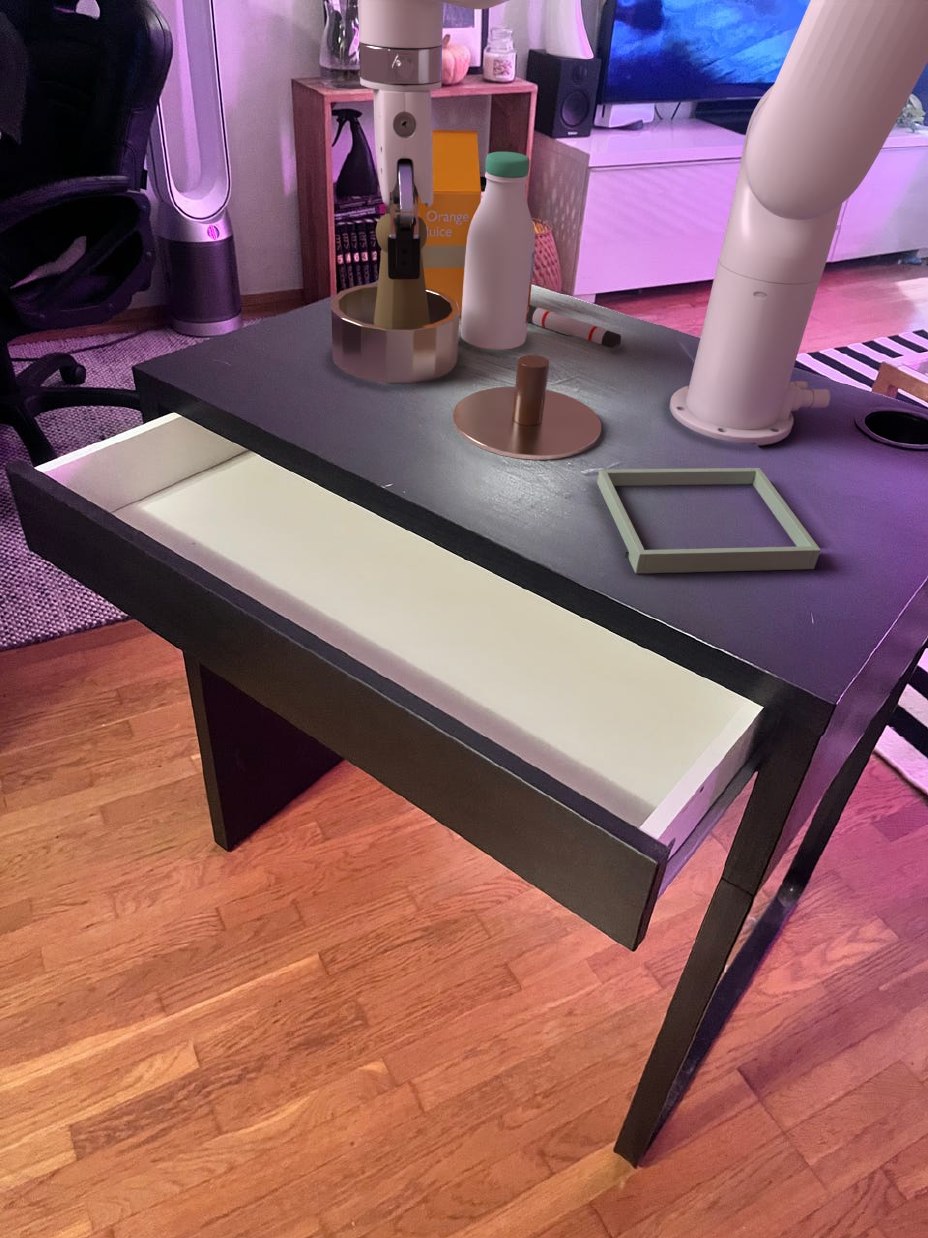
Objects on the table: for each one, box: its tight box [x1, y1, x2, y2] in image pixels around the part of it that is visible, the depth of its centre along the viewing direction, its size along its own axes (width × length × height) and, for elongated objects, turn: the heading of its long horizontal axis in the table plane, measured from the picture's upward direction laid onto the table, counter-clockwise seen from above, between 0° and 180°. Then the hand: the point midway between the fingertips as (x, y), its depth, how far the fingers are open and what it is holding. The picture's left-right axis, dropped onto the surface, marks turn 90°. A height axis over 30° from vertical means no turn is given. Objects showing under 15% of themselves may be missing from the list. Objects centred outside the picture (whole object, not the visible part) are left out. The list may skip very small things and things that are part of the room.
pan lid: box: [452, 354, 602, 461], centre depth 89 cm, size 15×15×7 cm
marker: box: [528, 304, 622, 349], centre depth 111 cm, size 15×2×2 cm, turn 52°
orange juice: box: [418, 129, 482, 318], centre depth 109 cm, size 8×9×20 cm
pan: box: [330, 282, 461, 384], centre depth 100 cm, size 14×14×6 cm
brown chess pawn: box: [374, 212, 430, 327], centre depth 95 cm, size 6×6×11 cm
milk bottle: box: [460, 151, 536, 351], centre depth 102 cm, size 8×8×20 cm
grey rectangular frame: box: [596, 467, 822, 574], centre depth 78 cm, size 15×13×2 cm
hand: (401, 266), depth 95 cm, fingers closed on brown chess pawn, 5 cm apart
